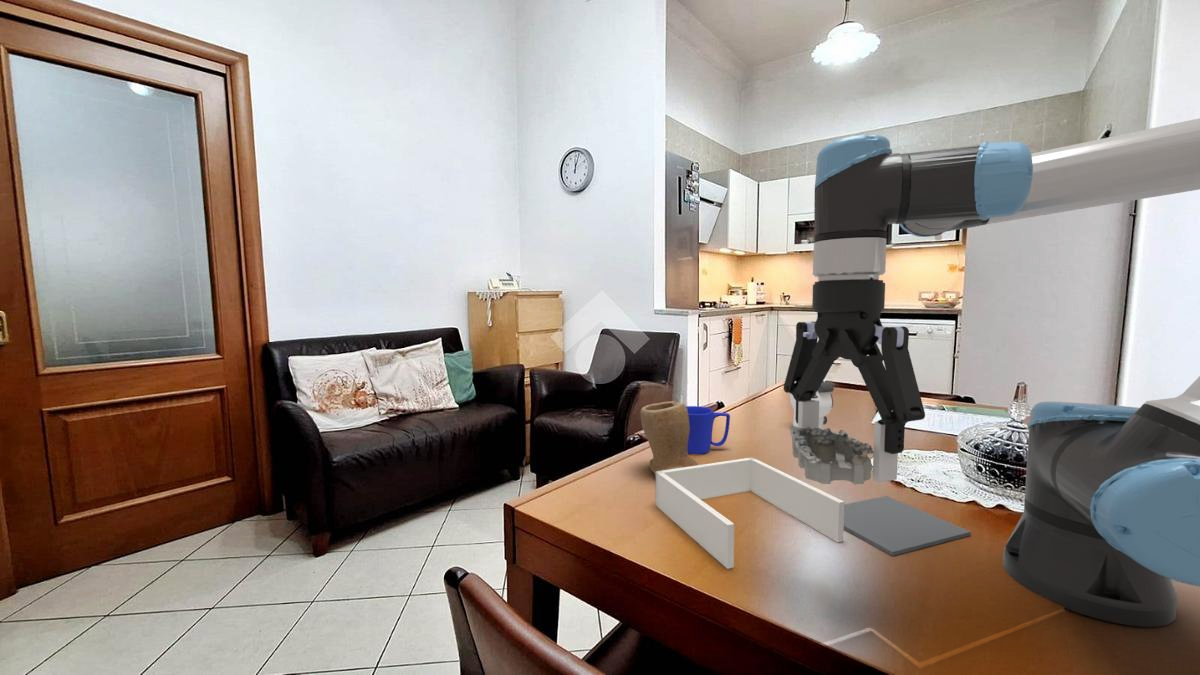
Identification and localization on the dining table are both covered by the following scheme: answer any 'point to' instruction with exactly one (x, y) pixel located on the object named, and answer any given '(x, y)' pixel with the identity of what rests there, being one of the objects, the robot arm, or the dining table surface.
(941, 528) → the mat
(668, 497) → the white open frame
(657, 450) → the stone cup
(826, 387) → the panda figurine
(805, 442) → the grey castle ring
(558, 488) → the dining table surface
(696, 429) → the mug
